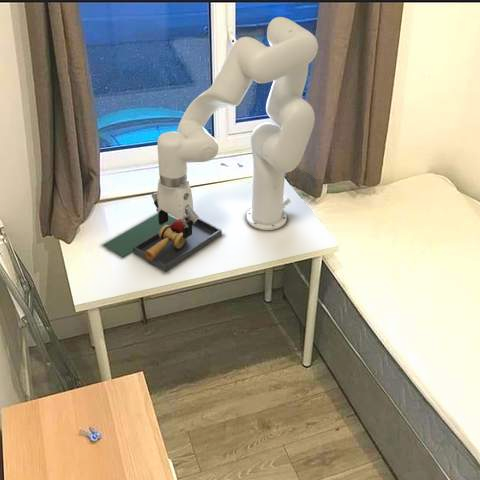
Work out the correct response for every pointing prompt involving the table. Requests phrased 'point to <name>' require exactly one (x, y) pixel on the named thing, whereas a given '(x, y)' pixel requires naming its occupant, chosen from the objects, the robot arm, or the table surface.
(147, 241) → the dark grey flat tray
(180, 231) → the kendama
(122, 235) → the mat
